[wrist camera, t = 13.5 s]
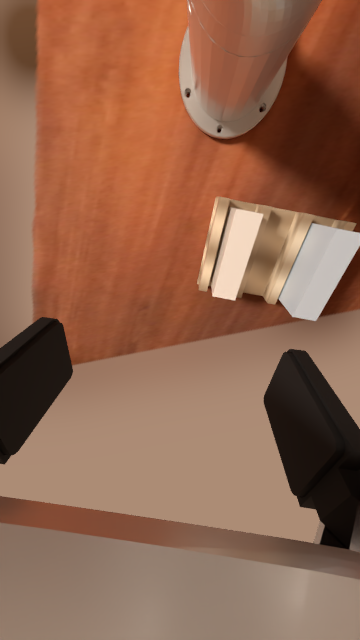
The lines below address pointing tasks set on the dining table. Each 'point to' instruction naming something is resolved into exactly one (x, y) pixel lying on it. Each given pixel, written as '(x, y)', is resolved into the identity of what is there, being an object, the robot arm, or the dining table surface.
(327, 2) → the dining table surface
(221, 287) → the cream foam brick
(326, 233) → the white rectangular block
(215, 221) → the rack
